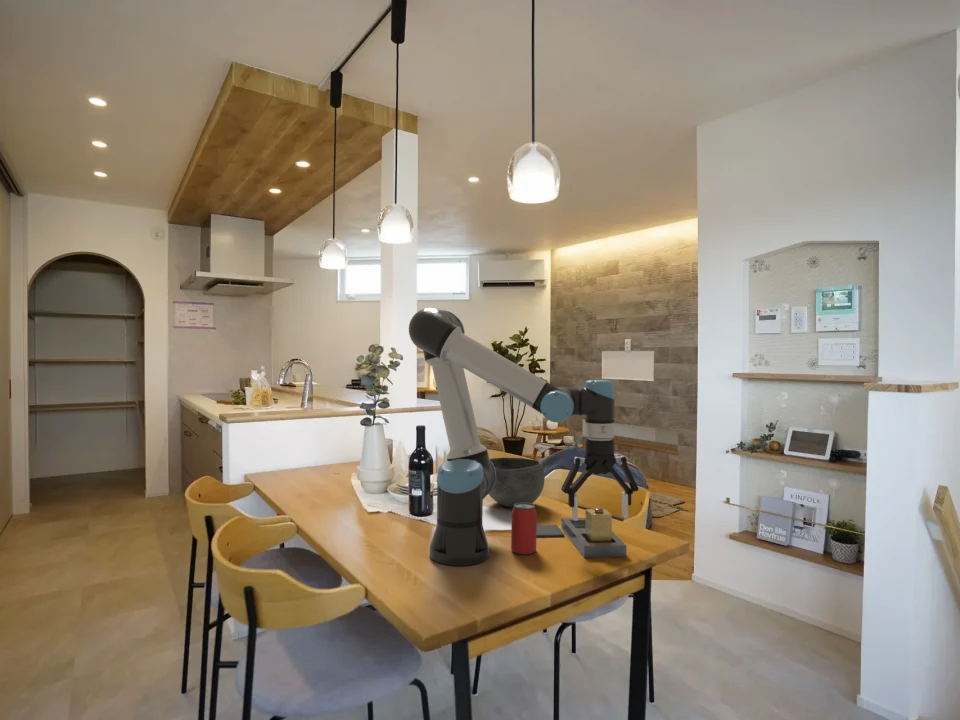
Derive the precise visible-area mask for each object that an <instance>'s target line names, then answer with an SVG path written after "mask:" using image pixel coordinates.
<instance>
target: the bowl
mask: <svg viewBox="0 0 960 720" xmlns="http://www.w3.org/2000/svg"><path fill="white" fill-rule="evenodd" d="M489 460H490V461H491V462H492V463H493V465H494V467H495V471H496V480H495V484H494V487H493V488H492V490H491V492H490V493H489V494H488V495H489V496H490V498H491V499H493V501H495V502H496V503H498V504H500V505H502V506H503V507H506V508H511V509H513V508H514V504H516V503H531V504H533V503H534V502H536V500H537V499H538V498H539V497H540V496H541V494H542V492H543V490H544V486H545V478H546V477H545V469H544V466H543V464H542V462H540V460H537V459H530V458H525V457H507V456H506V457H503V456H502V457H493V458H489Z"/></svg>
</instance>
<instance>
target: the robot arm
mask: <svg viewBox="0 0 960 720" xmlns="http://www.w3.org/2000/svg"><path fill="white" fill-rule="evenodd" d="M408 334H409V338H410V340H411V341H412V343H413V344H414V345H415V347H417V348H418V349H420V350H421V351H422V352H423V357H424V361H425V364H428V365H429V366H431V368H432V372H433V377H434V381H435V386H436V391H437V395H438V400H439V404H440V409H441V413H442V419H443V421H444V422H443V423H444V427H445V431H446V432H445V433H446V437H447V441H448V446H449V452H448V454H447V455H446V461H444V462H442V463H441V464H440V466H439V467H438V468H437V475H436V487H437V488H436V489H437V491H436V495H437V496H436V498H437V499H436V527H435V530H434V533H433V536H432V539H431V541H430V544H429V557H430V558H431V560H432V561H434V562H436V563H439V564H441V565H446V566H454V567H455V566H457V567H461V566H462V567H463V566H466V567H467V566H472V565H476V564H479V563H483V562H485V561H486V560H487V559H488V558H489V556H490V545H489V543H488V539H487V536H486V532H485V529H484V526H483V515H484V514H483V512H484V511H483V510H484V509H483V505H484V502H483V501H484V499H485V498H486V497H487V496H488V495H489V493H490V492H491V490H492V488H493V487H494V484H495V480H496V471H495V467H494V465H493V463H492V462H491V461H490V460H489V459H490V457H489V453H488V448H487V447H486V446H485V445H483V444H482V443H481V441H480V437H479V431H478V427H477V422H476V419H475V415H474V410H473V404H472V401H471V397H470V395H471V394H470V391H469V387H468V383H467V378H466V374H465V373H466V372H465V370H467V371H468V372H469V373H472V374H473V375H475V376H477V377H479V378H480V379H482V380H483V381H486V382H487V383H489V384H490V385H492V386H494V387H496V388H498V389H499V390H501V391H503V392H505V393H506V394H507V395H510V396H512V397H513V398H514V399H517V400H518V401H520V402H521V403H523V404H525V405H527V406H529V407H531V408H532V409H534V410H535V411H537V412H538V413H540V414H541V415H542V416H543V417H544V418H545V419H546V420H548V421H549V422H552V423H561V422H565V421H566V420H568V419H569V418H570V417H571V416H578V417H579V416H581V417H582V416H585V426H584V427H585V431H584V432H585V437H586V439H585V446H584V447H585V452H584V453H585V455H584V457H578V456H576V455H575V456H574V457H573V460H572V461H573V462H572V465H571V467H570V470H569V472H568V474H567V476H566V478H565V480H564V482H563V484H562V486H561V491H562V492H563V493H564V494H567V495H568V498H567V499H568V506H569V507H570V508H571V518H573V519H574V520H575V521H578V518H579V516H578V514H579V513H578V507H579V505H578V495H577V492H578V491H579V490H580V488H581V487H582V486H583V485H584V483H586V481H587V480H588V478H589V477H591V476H592V475H593V474H594V475H600V474H602V475H607V474H610V475H611V476H612V478H613V479H614V480H615V481H616V482H617V484H618V485H619V486H620V487H621V488H622V489H623V491H621V517H622V518H623V519H625V520H628V519H629V506H631V505H632V495H633V494H634V493H635V492H638V491H639V487H638V484H637V483H636V481H635V478H634V476H633V474H632V472H631V470H630V468H629V466H628V461H627V457H626V456H624V455H623V454H622V455H621V454H619V456H615V440H614V439H613V438H615V401H616V400H615V399H616V398H615V384H614V383H613V381H611V380H607V379H589V380H586V381H585V384H584V386H583V387H564V386H562V387H561V386H560V387H559V386H556V385H554V384H552V383H550V382H548V381H547V380H544V379H543V378H541V377H540V376H538V375H536V374H534V373H533V372H531V371H529V370H527V369H525V368H524V367H522V366H520V365H518V364H517V363H515V362H514V361H512V360H509V358H506V357H504V356H503V355H501V354H499V353H498V352H496V351H495V350H492V349H490V348H489V347H487V346H485V345H483V344H482V343H480V342H478V341H477V340H475V339H473V338H472V337H470V336H468V335H466V334H465V328H464V325H463V322H462V320H461V319H460V318H459V317H458V316H457V315H456V314H455V313H453V312H450V311H448V310H445V309H439V308H436V307H426V308H423V309H420V310H419V311H417V312H415V314H414V315H413V316H412V317H411V318H410V321H409V324H408ZM616 463H617V465H619V466H620V468H621V470H622V472H623V475H624V476H625V479H626V481H627V483H628V484H627V483H626V482H625V481H624V480H623V478H622V477H621V475H620V474H618V472H617V471H616V469H614V466H615V464H616ZM583 464H585V467H584V469H583V470H582V472H581V474H580V475H579V476H578V477H577V478H576V476H577V474H578V472H579V469H580V467H581V466H582V465H583ZM575 478H576V479H575ZM574 480H575V481H574Z"/></svg>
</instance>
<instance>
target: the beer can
mask: <svg viewBox="0 0 960 720" xmlns="http://www.w3.org/2000/svg"><path fill="white" fill-rule="evenodd" d="M537 516H538V515H537V510H536V505H535V504H533V503H532V504H531V503H516V504H514V508H512V511H511V527H510V528H511V534H510V535H511V536H510V537H511V541H510V542H511V543H510V550H511V551H512V552H513V553H515V554H518V555H523V556H524V555H525V556H526V555H532V554H534V553H535V552H536V551H537V537H536V530H537V525H538V524H537V522H538V519H537Z"/></svg>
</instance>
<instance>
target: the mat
mask: <svg viewBox="0 0 960 720" xmlns="http://www.w3.org/2000/svg"><path fill="white" fill-rule="evenodd" d="M560 528H561V527H559V526H558V525H557V524H537V530H536V538H556V537H557V538H562V537H565V533H564V531H563V530H562V529H560Z"/></svg>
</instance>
